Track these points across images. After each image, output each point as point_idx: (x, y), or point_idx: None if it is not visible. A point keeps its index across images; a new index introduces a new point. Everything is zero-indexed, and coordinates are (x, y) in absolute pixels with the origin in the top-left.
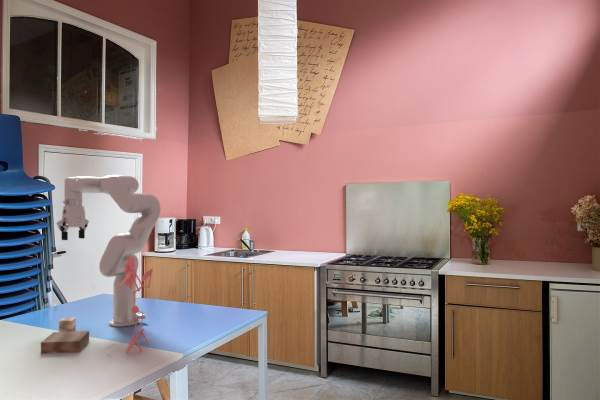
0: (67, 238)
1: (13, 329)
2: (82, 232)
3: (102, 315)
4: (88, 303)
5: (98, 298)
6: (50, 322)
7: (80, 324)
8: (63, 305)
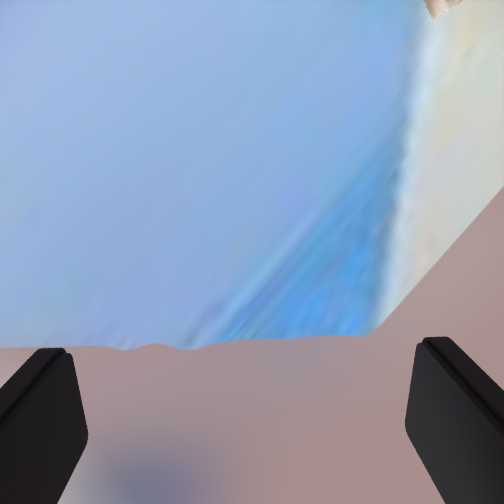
0: (439, 349)
1: (451, 215)
2: (5, 458)
3: (190, 79)
4: (88, 287)
5: (13, 319)
6: (346, 180)
7: (328, 47)
8: (158, 338)
